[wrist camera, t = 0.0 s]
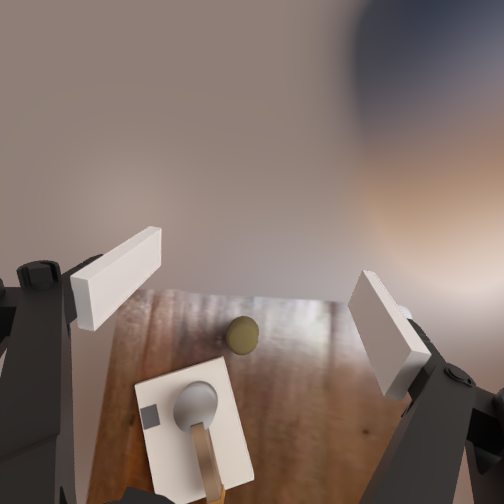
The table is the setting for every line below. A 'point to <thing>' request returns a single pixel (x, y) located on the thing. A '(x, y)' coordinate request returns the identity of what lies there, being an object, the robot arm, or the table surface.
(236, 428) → the base plate
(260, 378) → the table surface
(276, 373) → the table surface
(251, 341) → the olive pawn
